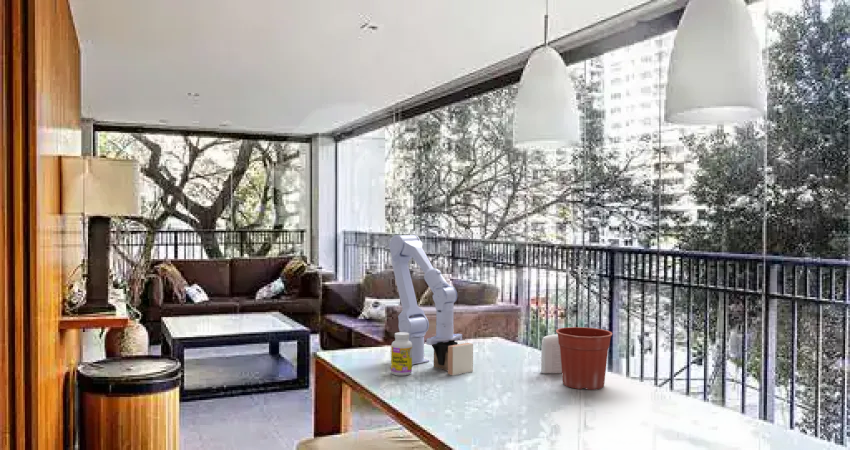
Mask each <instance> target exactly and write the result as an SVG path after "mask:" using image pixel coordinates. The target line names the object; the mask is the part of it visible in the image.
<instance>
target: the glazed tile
mask: <svg viewBox="0 0 850 450" xmlns="http://www.w3.org/2000/svg"><path fill="white" fill-rule="evenodd" d="M466 372H467V373H472V372H474V343H471V342H465V343H464V342H463V343H458V344H457V345H451V346H448V370H447V374H448V375H449V374H450V376H457V375H462V373H463V374H467V373H466Z"/></svg>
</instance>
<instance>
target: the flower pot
mask: <svg viewBox="0 0 850 450" xmlns="http://www.w3.org/2000/svg"><path fill="white" fill-rule="evenodd" d="M555 333H556V334H558V342H559V345H560V353H561V366H562V373H561V377H562V380H561V381H562V384H563V385H564V386H566V387H567V388H570V389H577V390H582V389H586V390H589V391H592V390H601V389H602V388H605V381H606V371H607V364H608V363H607V362H608V355H609V354H608V353H609V348H610V345H611V337H612V336H613V332H612V331H609V330H606V329H602V328H594V327H582V326H579V327H578V326H570V327H560V328H557V329H556V330H555Z"/></svg>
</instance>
